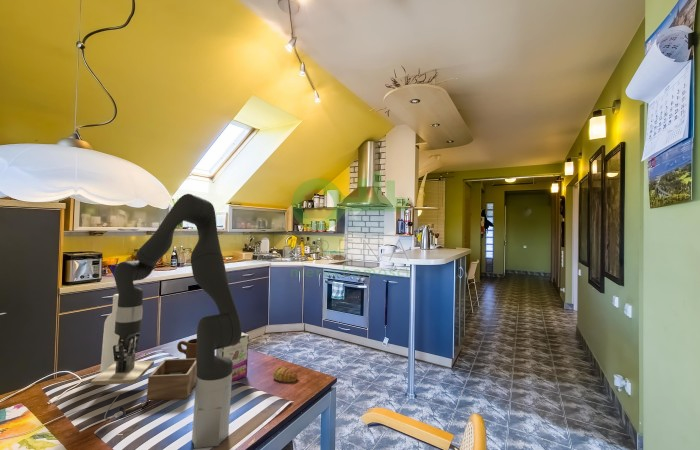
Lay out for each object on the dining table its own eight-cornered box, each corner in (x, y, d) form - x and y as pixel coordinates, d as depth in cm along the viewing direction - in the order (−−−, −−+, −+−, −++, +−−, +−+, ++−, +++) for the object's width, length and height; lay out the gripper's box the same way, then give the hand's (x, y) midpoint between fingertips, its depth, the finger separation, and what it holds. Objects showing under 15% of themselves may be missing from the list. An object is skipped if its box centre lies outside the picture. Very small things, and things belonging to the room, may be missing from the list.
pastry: (300, 377, 122) (301, 367, 122) (292, 385, 116) (293, 375, 116) (279, 373, 125) (280, 363, 125) (270, 380, 118) (271, 370, 118)
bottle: (119, 376, 115) (125, 296, 116) (95, 377, 114) (101, 296, 115) (129, 367, 123) (135, 292, 124) (107, 368, 121) (113, 292, 123)
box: (186, 399, 102) (188, 374, 102) (146, 401, 99) (148, 376, 100) (197, 379, 116) (199, 358, 116) (162, 381, 113) (164, 359, 113)
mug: (170, 366, 126) (172, 343, 126) (181, 358, 134) (182, 337, 134) (199, 367, 126) (201, 344, 126) (208, 360, 133) (209, 338, 134)
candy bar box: (239, 372, 123) (242, 331, 124) (247, 376, 120) (249, 334, 121) (213, 382, 114) (216, 338, 115) (220, 386, 111) (223, 341, 112)
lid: (135, 385, 99) (136, 363, 99) (90, 387, 96) (92, 365, 96) (153, 366, 113) (155, 347, 113) (115, 367, 110) (116, 348, 110)
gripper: (131, 324, 99) (127, 377, 98) (149, 313, 113) (146, 359, 112) (104, 324, 97) (100, 379, 97) (127, 313, 111) (123, 360, 111)
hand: (125, 368), depth 105 cm, fingers closed on lid, 4 cm apart
